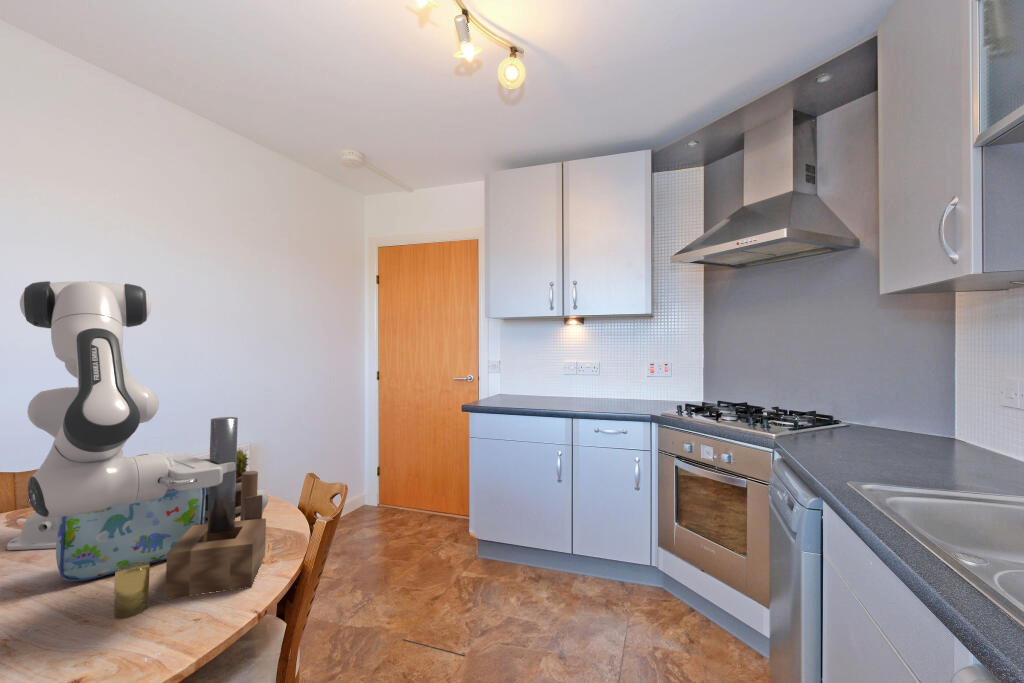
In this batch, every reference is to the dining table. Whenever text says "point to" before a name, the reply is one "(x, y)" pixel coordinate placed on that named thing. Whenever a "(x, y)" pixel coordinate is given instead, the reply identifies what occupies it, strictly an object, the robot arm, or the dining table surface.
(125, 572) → the brass pin
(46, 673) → the dining table surface
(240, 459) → the flowerpot
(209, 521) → the steel pin
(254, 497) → the wooden block
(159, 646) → the dining table surface
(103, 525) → the lunch box
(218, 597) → the dining table surface
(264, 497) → the lightbulb
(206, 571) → the block
